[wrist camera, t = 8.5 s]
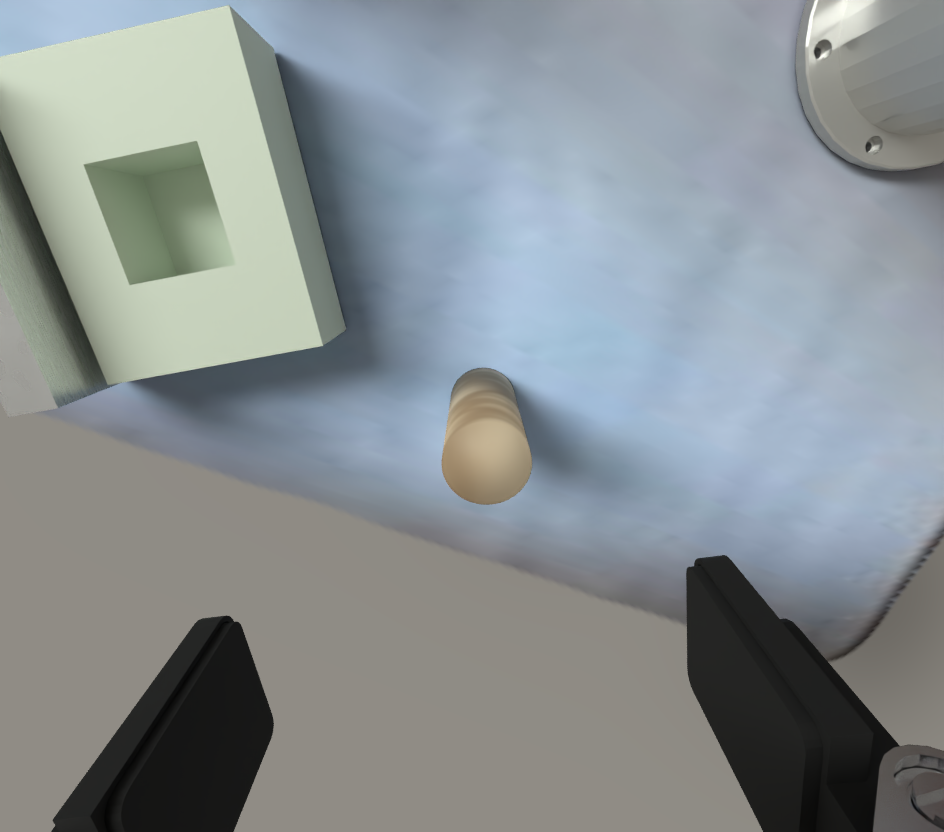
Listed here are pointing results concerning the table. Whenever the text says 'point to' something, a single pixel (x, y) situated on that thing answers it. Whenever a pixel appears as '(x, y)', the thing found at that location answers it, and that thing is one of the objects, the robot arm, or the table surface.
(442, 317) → the table surface
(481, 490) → the wooden dowel
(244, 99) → the socket block
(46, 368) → the backstop board
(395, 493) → the table surface
